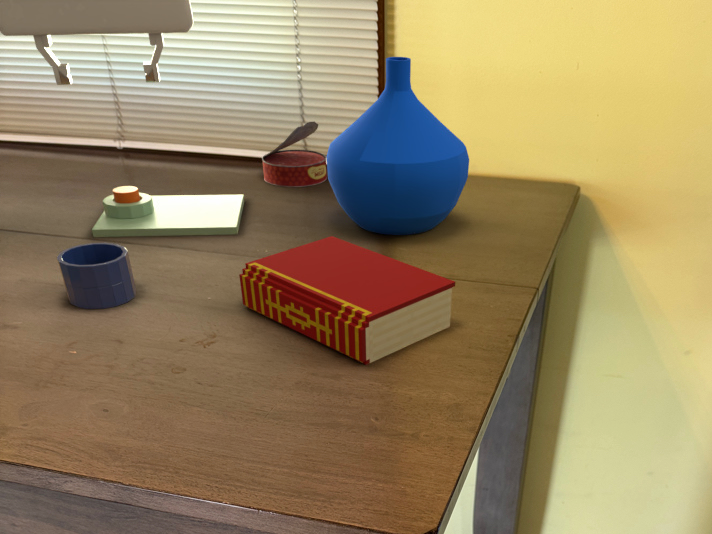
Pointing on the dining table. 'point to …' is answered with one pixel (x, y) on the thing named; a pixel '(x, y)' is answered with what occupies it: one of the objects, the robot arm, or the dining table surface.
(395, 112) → the vase
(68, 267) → the cup
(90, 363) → the dining table surface
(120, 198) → the button
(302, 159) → the canned food
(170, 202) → the scale
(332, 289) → the book
